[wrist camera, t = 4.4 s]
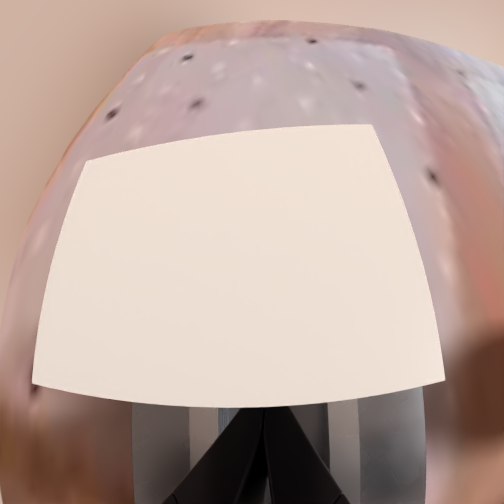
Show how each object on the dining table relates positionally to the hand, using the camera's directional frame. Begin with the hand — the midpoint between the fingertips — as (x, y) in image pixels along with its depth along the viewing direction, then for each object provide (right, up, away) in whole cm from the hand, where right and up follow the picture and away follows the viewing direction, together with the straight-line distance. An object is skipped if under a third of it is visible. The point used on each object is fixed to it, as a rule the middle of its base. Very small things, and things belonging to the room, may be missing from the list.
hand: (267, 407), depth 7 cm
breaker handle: (0, -1, +4) cm, 4 cm away
